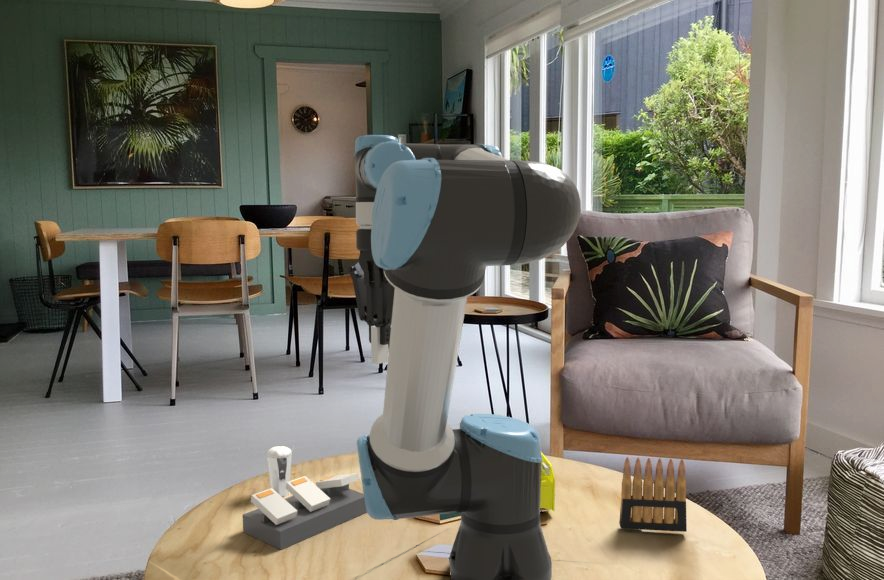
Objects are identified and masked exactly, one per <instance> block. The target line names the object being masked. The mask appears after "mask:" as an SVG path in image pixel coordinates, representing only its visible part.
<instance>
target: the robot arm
mask: <svg viewBox="0 0 884 580" xmlns="http://www.w3.org/2000/svg"><path fill="white" fill-rule="evenodd" d="M354 143H355V144H354V154H353V160H354V167H355V168H354V173H355V176H354V177H355V224H356V226H359V228H357V230H356V232H355V239H356V250H358V251H359V256H358V257H357V259H358V261H357V263H356V264H355V265H351V266H348V269H347V271H348V273H349V275H350V278H351V280H352V285H353V290H354V295H355V301H356V307H357V312H358V318H359V320H360V321H364V322H365V323H366V324H367V325H368V341H369V343H370V348H371V349H370V350H371V351H370V353H371V358H370V360H371V364H375V365H379V364H384V363H387V366H386V377H385V378H386V379H385V387H384V388H385V390H384V399H383V410H382V414H381V415H379V417H377V418H376V419H375V421H374V422H372V423H373V424H372V425H371V429H370V433H368V434H365V435H363V436H360V437H358V438H357V440H356V449H357V456H358V464H359V473H360V479H361V485H362V493H363V494H364V499H365V505H366V511H367V513H366V514H368V516H369V517H370V518H371V519H373V520H377V521H379V520H393V521H398V520H402V519H409V518H410V519H411V518H417V517H419V518H420V517H427V516H435V515H437V516H438V515H445V514H455V513H457V514H458V513H460V522H459V523H460V524H459V527H458V530H457V531H456V532H457V533H456V534H455V535H456V536H455V538H454V541H453V545H452V548H451V552H450V554H449V557H448V558H449V560H448V562H449V563H448V568H449V567H450V572H451V577H450V579H451V580H552V577H553V574H552V572H553V571H552V570H553V568H552V566H553V565H552V563H553V562H552V561H553V560H552V556H551V555H550V553H549V548H548V546H547V545H548V544H547V542H546V539H545V536H544V532H543V529H542V526H541V513H540V501H541V462H542V456H541V452H542V449H541V448H542V447H541V446H542V445H541V435H540V433H539V432H538V430H537V429H536V428H535V427H534V426H533V425H532V424H529V423H528V422H526V421H523V420H520V419H519V418H514V417H510V416H506V415H501V414H492V413H472V414H469V415H464V416H463V417H461V421H460V422H459V428H458V429H457V428H455V429H453V428H452V427H451V425H450V424H449V422H448V418H449V413H450V412H449V411H450V405H451V398H452V394H453V389H454V387H453V386H454V383H455V381H454V380H455V373H456V370H457V369H456V368H457V362H458V357H459V351H460V350H459V349H460V344H461V339H462V338H461V337H462V333H463V332H462V331H463V327H464V319H465V315H466V314H465V312H466V307H467V301H468V298H469V297H471V296H472V295H474V294H475V293H477V292H478V291H479V290H480V288H481V287H482V285H483V283H484V279H485V273H486V268H487V267H492V266H493V267H497V266H522V265H526V264H532V263H535V262H538V261H541V260H544V259H545V258H547V257H550V256H551V255H553V254H554V253H556V252H558V251H559V250H560V249H561V248H562V247H564V245H565V244H566V243H567V242H568V241H569V240H570V238H571V237H572V236H573V235H574V232H575V230H576V229H577V227H578V224H579V221H580V218H581V217H580V216H581V211H582V204H581V197H580V192H579V190H578V188H577V186H576V184H575V182H574V181H573V180H572V179H571V177H570V176H569V175H568V174H567V173H566V172H564V171H563V170H562V169H561V168H558V167H555V166H554V165H550V164H547V163H543V162H540V161H531V160H529V161H528V160H522V159H521V160H520V159H508V158H506V157H503V154H502V153H501V150H500V149H499V147H498V146H496V145H492V144H491V145H490V144H483V143H474V144H458V143H457V144H455V143H454V144H452V143H451V144H448V143H447V144H446V143H445V144H444V143H443V144H441V143H440V144H437V143H401V142H399V140H398V137H395V136H393V135H386V134H365V135H360V136H358V137H357V138H356V139H355V142H354Z"/></svg>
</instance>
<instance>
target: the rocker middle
mask: <svg viewBox="0 0 884 580" xmlns="http://www.w3.org/2000/svg"><path fill="white" fill-rule="evenodd" d="M285 488H286V489H287V490H288V491H289V494H291V495H292V496H294V497H295V498H296V499H297V500H299V501H300V502H301V503H302V504H303V505H304V506H305V507H306V508H307V509H308V510H309V511H310V512H312V511H314V510H317V509H319V508H322V507H324V506H327V505H329V503H330V498H329V497H328V496H327V495H326V494H325V493H324V492H323V491H321V490H320V489H319V488H318V487H317V486H316V483H314V482H313V481H311V479H310V478H308V477H307V476H306V475H303V476H300V477H297V478H294V479H291V480H290V481H289V482H287V483H286V487H285Z"/></svg>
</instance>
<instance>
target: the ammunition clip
mask: <svg viewBox="0 0 884 580" xmlns="http://www.w3.org/2000/svg"><path fill="white" fill-rule="evenodd" d="M662 461H663V460H662V458H658V460H657V462H656V466H655V476H654V480H653V466H652V465H653V464H652V461H651V458H650V457H648V458H647V460H646V463H645V468H644V479H642V464H641V463H642V462H641V459H640V458H639V457H637V458H636V460H635V463H634V469H633V471H634V472H633V480H632V472H631V471H632V468H631V467H632V466H631V463H630V459H629V457H628V456H627V457H626V458H625V460H624V464H623V473H622V481H621V495H620V496H621V499H620V507H619V508H620V510H619V522H618V523H619V524H618V525H619V527H620V528H621V529H623V530H641V531H642V530H643V531H663V532H664V531H665V532H681V533H682V532H684V533H687V524H688V523H687V481H686V480H687V479H686V466H685V461H684V459H680V460H679V465H678V468H677V478H676V482H675V466H674V461H673V459H672V458H670V459H669V460H668V463H667V467H666V476H665V477H666V479H665V483H664V467H663V466H664V465H663V462H662Z"/></svg>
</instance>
